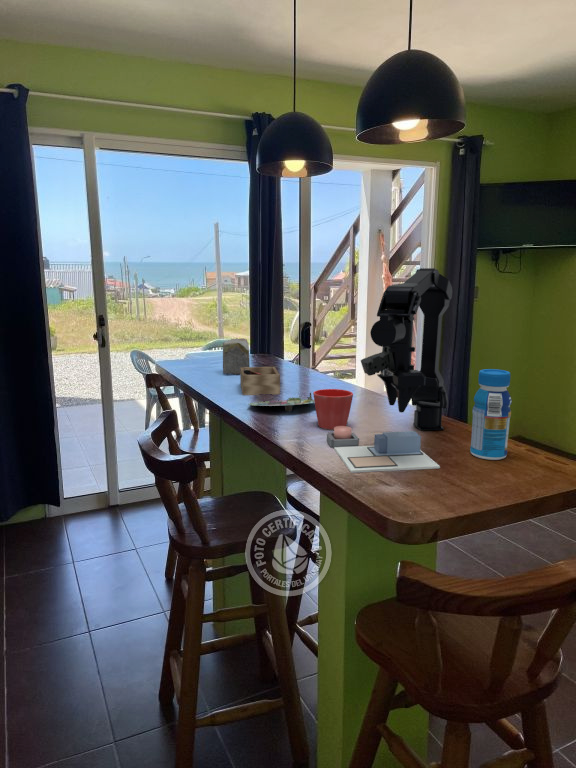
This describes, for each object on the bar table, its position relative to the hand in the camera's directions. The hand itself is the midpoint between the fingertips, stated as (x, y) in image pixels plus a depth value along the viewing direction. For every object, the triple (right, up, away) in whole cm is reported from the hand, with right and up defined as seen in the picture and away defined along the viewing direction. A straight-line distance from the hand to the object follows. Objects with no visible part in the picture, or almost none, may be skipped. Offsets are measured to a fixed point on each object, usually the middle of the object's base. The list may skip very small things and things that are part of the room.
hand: (396, 408), depth 126 cm
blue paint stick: (+1, -10, +2) cm, 10 cm away
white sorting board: (-3, -11, -1) cm, 12 cm away
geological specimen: (-47, +10, +104) cm, 114 cm away
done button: (-12, -9, +10) cm, 18 cm away
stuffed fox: (-38, +3, +72) cm, 82 cm away
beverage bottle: (+22, -11, +1) cm, 25 cm away
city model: (-26, -2, +47) cm, 54 cm away
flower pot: (-13, -6, +25) cm, 29 cm away
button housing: (-12, -9, +10) cm, 18 cm away
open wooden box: (-36, +4, +73) cm, 81 cm away
